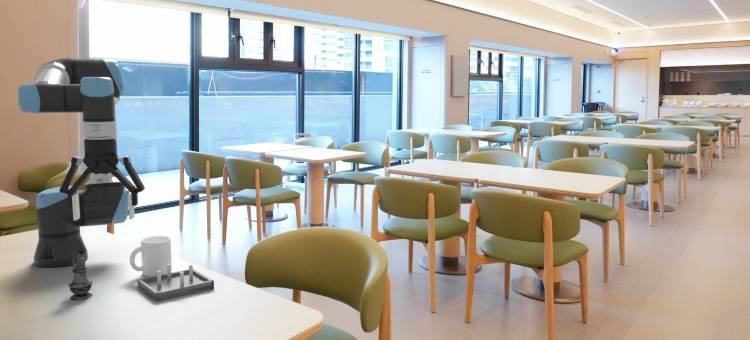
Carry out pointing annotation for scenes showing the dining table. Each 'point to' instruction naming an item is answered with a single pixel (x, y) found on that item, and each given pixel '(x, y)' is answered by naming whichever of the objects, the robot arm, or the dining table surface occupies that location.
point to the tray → (175, 283)
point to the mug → (153, 255)
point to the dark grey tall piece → (80, 280)
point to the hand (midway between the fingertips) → (104, 218)
